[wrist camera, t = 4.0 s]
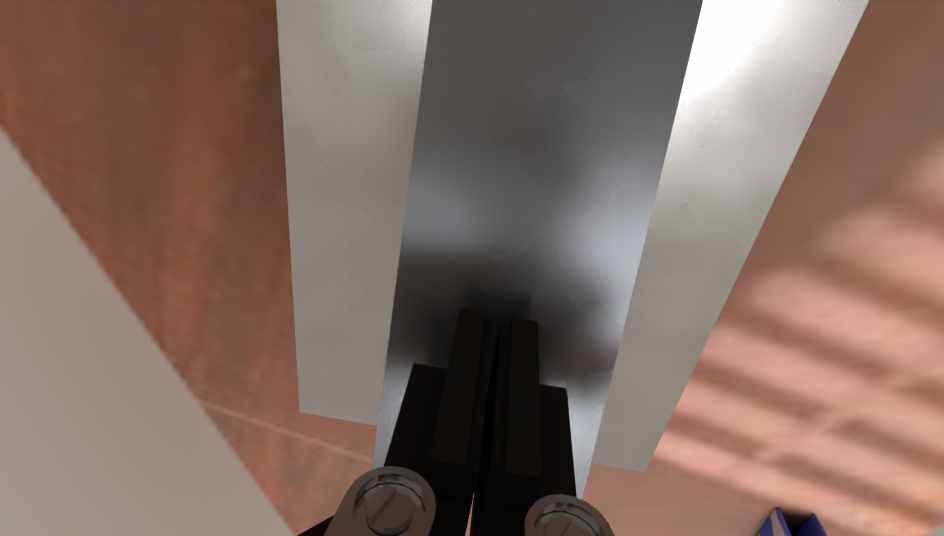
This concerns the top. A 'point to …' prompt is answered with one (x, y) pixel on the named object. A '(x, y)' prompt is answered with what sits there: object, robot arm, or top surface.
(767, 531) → the eraser
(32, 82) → the top surface
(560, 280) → the retention lever
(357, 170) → the mounting plate
